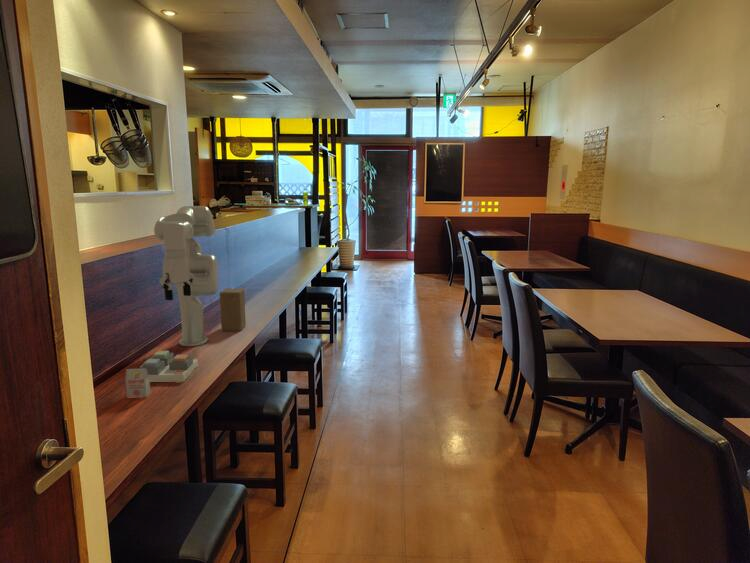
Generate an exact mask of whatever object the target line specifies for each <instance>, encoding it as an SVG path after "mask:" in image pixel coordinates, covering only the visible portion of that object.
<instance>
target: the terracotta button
mask: <svg viewBox="0 0 750 563" xmlns="http://www.w3.org/2000/svg"><path fill="white" fill-rule="evenodd" d="M188 356H189V354H176V355H174V358H173V362H186V361H187V360H188V359H189V358H188Z"/></svg>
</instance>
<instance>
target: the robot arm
mask: <svg viewBox="0 0 750 563" xmlns="http://www.w3.org/2000/svg"><path fill="white" fill-rule="evenodd" d="M153 232H154V236H155V238H157V240H159V241H163V244H164V245H163V246H164V259H163V262H162V277H160V278H158V281H159V284H160V287H161V288H162V290H164V298H165V301H173V300H174V293H173V289H172V288H173V286H174V285H176V290H177V294H178V300H179V308H180V321H181V323H180V324H181V335H182V338H181V339H179V340H178V343H179V345H180V346H181V347H182V346H183V347H198V346H202V345H205V344H207V343H208V342H209V338H208V337H207V336H205V327H204V326H205V325H204V324H205V323H204V309H203V308H204V307H203V303H202V302H201V300H200V299H199V298H198V297H199V296H200V297H201V296H214V295H216V294H217V291H218V287H219V286H218V285H219V283H218V280H219V276H218V275H219V265H218V259H217V257H216V256H215V255H214V254H202V246H201V244H200V243H199V242H198V241H197V240H196V239H194V237H211V236H213V235H214V234H215V232H216V226H215V221H214V218H213V213H212V211H211V209H210V208H209V207H208V206H206V205H185V206H181V207H180V208H179V209H178V210H177V212H175V213H173V214H170V215H166V216H163V217H160V218H158V220H157V221H156V222H155V225H154V228H153Z"/></svg>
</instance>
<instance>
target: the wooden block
mask: <svg viewBox="0 0 750 563" xmlns="http://www.w3.org/2000/svg"><path fill="white" fill-rule="evenodd" d="M245 302H246V301H245V289H244V288H224V289H223V290H222V291H220V292H219V306H220V322H221V324H220V325H221V331H223V332H241V331H242V330H243V329H244V328H245V326H246V325H247V323H246V306H245V305H246V303H245Z"/></svg>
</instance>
